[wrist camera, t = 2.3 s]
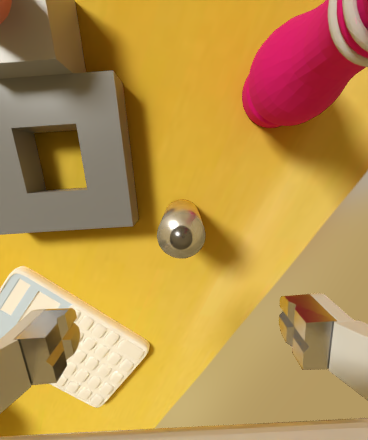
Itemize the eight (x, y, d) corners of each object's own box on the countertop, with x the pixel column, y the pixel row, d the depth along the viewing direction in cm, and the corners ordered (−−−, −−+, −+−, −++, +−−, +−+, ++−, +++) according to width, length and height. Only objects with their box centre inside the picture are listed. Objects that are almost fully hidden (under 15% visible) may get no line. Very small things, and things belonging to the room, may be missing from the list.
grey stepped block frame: (-37, 10, 20) (-119, -49, 14) (112, -2, 19) (85, -66, 14) (20, 226, 25) (-25, 242, 19) (139, 219, 24) (126, 233, 19)
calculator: (102, 399, 32) (97, 413, 30) (-22, 331, 29) (-36, 343, 27) (153, 340, 29) (151, 352, 27) (23, 260, 26) (11, 267, 24)
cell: (163, 200, 24) (153, 216, 16) (198, 198, 24) (205, 212, 16) (166, 233, 25) (158, 263, 17) (200, 231, 25) (207, 260, 17)
